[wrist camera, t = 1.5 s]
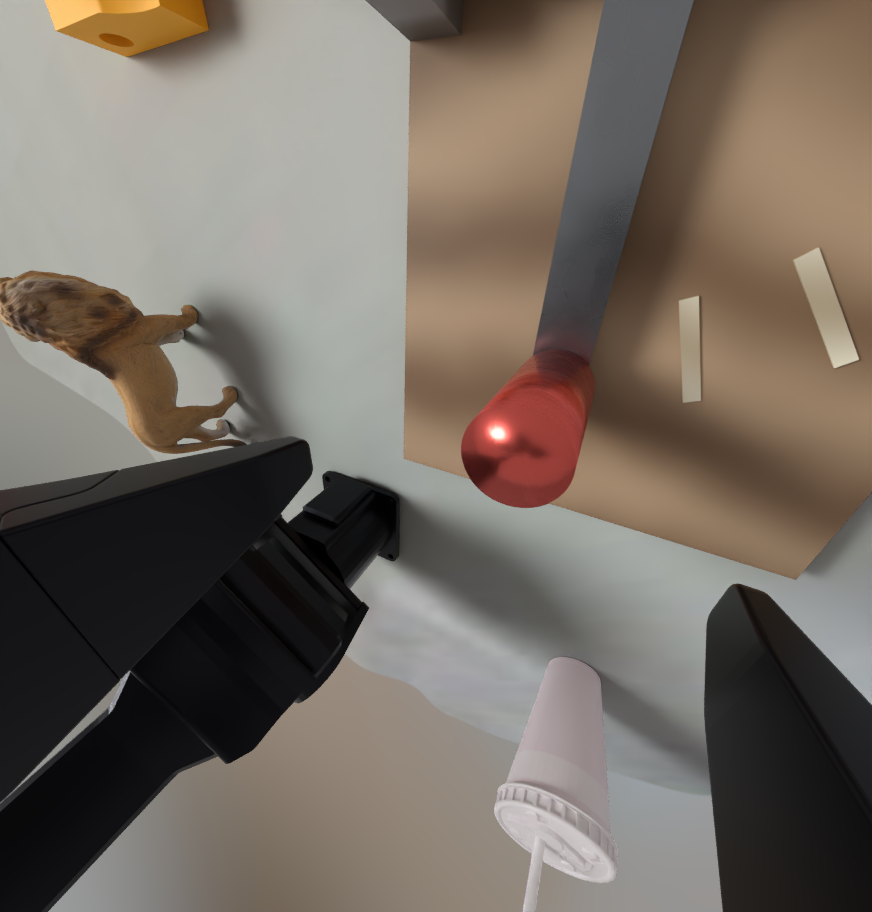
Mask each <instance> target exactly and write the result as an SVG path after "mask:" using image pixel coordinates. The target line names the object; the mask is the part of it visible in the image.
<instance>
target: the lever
mask: <svg viewBox="0 0 872 912" xmlns="http://www.w3.org/2000/svg"><path fill="white" fill-rule="evenodd" d="M694 1H695V0H604V4H603V9H602V14H601V18H600V23H599V28H598V33H597V38H596V43H595V48H594V53H593V58H592V63H591V68H590V73H589V78H588V83H587V88H586V93H585V98H584V103H583V108H582V113H581V118H580V123H579V128H578V133H577V138H576V143H575V148H574V153H573V158H572V163H571V168H570V173H569V178H568V183H567V188H566V193H565V198H564V203H563V208H562V212H561V217H560V222H559V227H558V232H557V237H556V242H555V247H554V252H553V257H552V262H551V267H550V272H549V277H548V282H547V287H546V292H545V297H544V302H543V307H542V312H541V317H540V322H539V327H538V332H537V337H536V342H535V347H534V352H533V356H532V357H530V358H529V359H528V360H527V361H526V362H525V363H524V364H523V365H522V366H521V367H520V368H519V369H518V371H517V372H516V373H515V374H514V375H513V376H512V377H511V378H510V379H509V381H508V382H507V383H506V384H505V385H504V386H503V387H502V388H501V389H500V391H499V392H498V393H497V394H496V395H495V396H494V397H493V398H492V399H491V400H490V402H489V403H488V404H487V405H486V406H485V407H484V408H483V409H482V410H481V412H480V413H479V414H478V415H477V416H476V417H475V418H474V419H473V420H472V422H471V423H470V424H469V425H468V427H467V429H466V431H465V432H464V435H463V438H462V443H461V457H462V462H463V465H464V468H465V470H466V472H467V474H468V476H469V477H470V479H471V480H472V482H473V483H474V484H475V485H476V486H477V487H478V488H479V489H480V490H481V491H482V492H483V493H484V494H486V495H487V496H489V497H490V498H492V499H494V500H496V501H498V502H500V503H503V504H505V505H509V506H513V507H519V508H532V507H538V506H542V505H546V504H548V503H550V502H552V501H554V500H556V499H557V498H559V497H560V496H561V495H562V494H563V493H564V492H565V491H566V490H567V489H568V487H569V486H570V484H571V482H572V480H573V477H574V474H575V470H576V466H577V462H578V458H579V454H580V450H581V446H582V442H583V438H584V434H585V430H586V426H587V422H588V418H589V414H590V410H591V405H592V401H593V397H594V393H595V379H594V375H593V373H592V370H591V369H590V367H589V366H590V362H591V359H592V355H593V352H594V348H595V345H596V341H597V338H598V334H599V331H600V327H601V324H602V320H603V317H604V313H605V310H606V306H607V303H608V300H609V296H610V293H611V289H612V286H613V282H614V279H615V275H616V272H617V268H618V265H619V261H620V258H621V254H622V251H623V247H624V244H625V240H626V237H627V233H628V230H629V227H630V223H631V220H632V216H633V213H634V209H635V206H636V202H637V199H638V195H639V192H640V188H641V185H642V181H643V178H644V174H645V171H646V167H647V164H648V160H649V157H650V154H651V150H652V147H653V143H654V140H655V136H656V133H657V129H658V126H659V122H660V119H661V115H662V112H663V108H664V105H665V101H666V98H667V94H668V91H669V87H670V84H671V81H672V77H673V74H674V70H675V67H676V63H677V60H678V56H679V53H680V49H681V46H682V42H683V39H684V35H685V32H686V28H687V25H688V21H689V18H690V14H691V11H692V8H693V4H694Z"/></svg>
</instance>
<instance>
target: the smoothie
mask: <svg viewBox="0 0 872 912" xmlns="http://www.w3.org/2000/svg"><path fill="white" fill-rule="evenodd" d="M494 813H495V816H496V818H497V820H498V822H499V824H500V825H501V826H502V828H503V829H504V830H505V831H506V832H507V834H508V835H509V836H510V837H511V838H513V839H514V840H515V841H516V842H517V843H518V844H519V845H521V846H522V847H523V848H524V849H525V850H527V851H528V852H530V853H531V854H532V857H531V864H530V869H529V875H528V882H527V888H526V894H525V900H524V906H523V912H535V911H536V904H537V897H538V890H539V883H540V876H541V869H542V862H545V863H547V864H549V865H550V866H552V867H554V868H556V869H558V870H560V871H562V872H564V873H566V874H569V875H571V876H574V877H576V878H580V879H583V880H586V881H590V882H596V883H607V882H611V881H612V880H613V879H615V877H616V872H617V871H616V869H617V857H618V846H617V845H616V843H615V841H614V839H613V837H612V836H611V832H610V816H609V815H610V814H609V799H608V785H607V769H606V754H605V739H604V724H603V709H602V694H601V681H600V678H599V676H598V674H597V673H596V672H595V671H594V670H593V669H592V668H591V667H590V666H588V665H587V664H585V663H583V662H581V661H579V660H576V659H573V658H569V657H557V658H553V659H552V660H550V661H549V663H548V666H547V669H546V671H545V674H544V677H543V680H542V683H541V686H540V688H539V691H538V694H537V697H536V700H535V703H534V705H533V708H532V711H531V714H530V717H529V719H528V722H527V725H526V728H525V731H524V734H523V736H522V739H521V742H520V745H519V748H518V751H517V754H516V756H515V758H514V762H513V764H512V767H511V770H510V773H509V776H508V779H507V782H506V783H504V784H503V785H501V786H500V787H499V788H498V792H497V799H496V803H495V807H494Z"/></svg>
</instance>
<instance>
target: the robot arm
mask: <svg viewBox="0 0 872 912" xmlns="http://www.w3.org/2000/svg"><path fill="white" fill-rule="evenodd" d="M312 471H313V465H312V459H311V453H310V447H309V444H308V443H307V441H305V440H303V439H300V438H297V437H292V436H291V437H285V438H280V439H275V440H270V441H264V442H259V443H254V444H249V445H244V446H239V447H234V448H228V449H223V450H218V451H213V452H208V453H203V454H197V455H192V456H187V457H182V458H177V459H172V460H166V461H161V462H156V463H151V464H146V465H141V466H136V467H130V468H126V469H122V470H120V471H119V470H115V471H109V472H105V473H99V474H94V475H88V476H83V477H78V478H72V479H67V480H61V481H55V482H49V483H43V484H37V485H31V486H24V487H18V488H11V489H5V490H0V802H1V803H0V912H48V911H49V910H50V909H51V908H52V906H54V904H56V903H57V901H58V900H59V899H60V898H61V897H62V896H63V895H64V894H65V893H66V892H67V891H68V890H69V889H70V888H71V886H72V885H73V884H74V883H75V882H76V881H77V880H78V879H79V878H80V877H81V876H82V875H83V874H84V873H85V872H86V871H87V869H88V868H89V867H90V866H91V865H92V864H93V863H94V862H95V861H96V860H97V859H98V858H99V857H100V855H102V853H103V852H104V851H105V850H106V849H107V848H108V847H109V846H110V845H111V844H112V843H113V842H114V840H116V839H117V837H118V836H119V835H120V834H121V833H122V832H123V831H124V830H125V829H126V828H127V827H128V826H129V825H130V823H132V821H133V820H134V819H135V818H136V817H137V816H138V815H139V814H140V813H141V812H142V811H143V810H144V809H145V808H146V806H147V805H148V804H149V803H150V802H151V801H152V800H153V799H154V798H155V797H156V796H157V795H158V794H159V793H160V792H161V790H162V789H163V788H164V787H165V786H166V785H167V784H168V783H169V782H170V781H171V780H172V779H173V778H174V777H175V776H176V775H177V774H178V773H180V772H181V771H184V770H186V769H189V768H191V767H193V766H196V765H198V764H201V763H203V762H206V761H208V760H210V759H213V758H215V757H217V756H218V757H219V758H220V759H221V760H222V761H223V762H224V763H225V764H228V763H231V762H233V761H235V760H236V759H238V758H240V757H242V756H243V755H245V754H247V753H249V752H250V751H252V750H253V749H254V748H255V747H256V746H257V745H258V744H259V742H260V741H261V740H262V738H263V737H264V736H265V735H266V734H267V732H268V731H269V730H270V728H271V727H272V726H273V725H274V724H275V723H276V721H277V720H278V719H279V718H280V716H281V715H282V714H283V713H284V712H285V711H286V710H287V709H288V708H289V707H290V706H291V705H292V704H293V703H294V702H295V703H300V702H303V701H304V700H306V699H307V698H309V697H310V696H311V695H312V694H313V693H314V692H315V691H317V690H318V688H320V687H321V685H322V684H323V683H324V682H325V681H326V680H327V679H328V677H329V676H330V675H331V674H332V673H333V671H334V670H335V668H336V667H337V665H338V664H339V663H340V661H341V659H342V658H343V656H344V654H345V652H346V650H347V648H348V646H349V645H350V643H351V641H352V639H353V637H354V635H355V633H356V632H357V630H358V628H359V626H360V624H361V622H362V620H363V619H364V617H365V615H366V613H367V611H368V609H369V607H368V606H367V605H366V604H365V603H364V602H361V601H360V600H359V599H358V597H357V596H356V595H355V594H354V593H353V592H352V591H351V590H350V588H351V587H352V586H353V585H354V583H355V582H356V581H357V580H358V578H359V577H360V576H361V575H362V574H363V572H364V571H365V570H366V569H367V567H368V566H369V565H370V564H371V563H372V561H373V560H374V559H375V558H376V556H377V555H378V556H381V557H383V558H385V559H388V560H390V561H395V560H396V559H397V558H398V556H399V498H398V496H397V495H396V494H394V493H391V492H389V491H386V490H383V489H380V488H377V487H374V486H371V485H368V484H366V483H363V482H360V481H357V480H354V479H351V478H348V477H346V476H343V475H340V474H337V473H334V472H331V471H327V472H326V473H324V474H323V477H322V478H323V486H324V490H323V491H322V492H321V493H320V494H318V495H317V496H316V497H315V498H313V499H312V500H311V501H310V502H308V503H307V504H306V505H305V506H304V507H303V511H302V512H300V513H299V514H298V515H297V516H296V517H294V518H293V519H292V520H291V521H289V522H288V523H287V522H286V521H285V520H284V519H283V518H282V515H281V513H282V511H283V510H284V509H285V508H286V506H287V505H288V504H289V503H290V501H291V500H292V499H293V498H294V497H295V495H296V494H297V493H298V492H299V490H300V489H301V488H302V487H303V485H304V484H305V483H306V482H307V480H308V479H309V478H310V476H311V474H312ZM122 677H123V679H122V681H121V683H120V686H119V688H118V690H117V692H116V695H115V697H114V699H113V701H112V703H111V705H110V706H109V708H107V709H106V710H105V711H104V712H103V713H102V714H101V715H99V716H98V717H97V718H96V719H95V720H94V721H93V722H91V723H90V724H89V725H88V726H87V727H86V728H85V729H84V730H82V731H81V732H80V733H79V734H78V735H77V736H76V737H74V738H73V739H72V740H71V741H70V742H69V743H68V744H67V745H66V746H64V747H63V748H62V749H61V750H60V751H59V752H57V754H55V755H54V756H53V757H52V758H51V759H50V760H49V761H47V762H46V763H45V764H44V765H43V766H42V767H41V768H39V769H38V770H37V771H36V772H35V773H34V774H33V775H31V776H30V777H29V778H28V779H27V780H26V781H25V782H24V783H23V784H21V785H20V786H19V787H18V788H17V789H16V790H15V791H13V790H14V789H15V788H16V787H17V786H18V785H19V784H20V783H21V782H22V781H23V780H24V779H25V778H26V777H27V776H28V775H29V774H30V773H31V772H32V771H33V770H34V769H35V768H36V767H37V766H38V765H39V764H40V763H41V762H42V760H43V759H44V758H46V756H47V755H48V754H49V753H50V752H51V751H52V750H53V749H54V748H55V747H56V746H57V745H58V744H59V743H60V742H61V741H62V740H63V739H64V738H65V737H66V736H67V735H68V734H69V733H70V732H71V731H72V730H73V729H74V728H75V727H76V726H77V725H78V724H79V722H80V721H81V720H82V719H83V718H84V717H85V716H86V715H87V714H88V713H89V712H90V711H91V710H92V709H93V708H94V707H95V706H96V705H97V704H98V703H99V702H100V701H101V700H102V699H103V698H104V697H105V696H106V695H107V694H108V692H109V691H111V689H112V688H113V687H114V686H115V685H116V684H117V683H118V682H119V681H120V679H121V678H122ZM704 717H705V732H706V742H707V753H708V763H709V773H710V784H711V794H712V804H713V815H714V825H715V836H716V846H717V856H718V866H719V877H720V887H721V897H722V908H723V912H872V705H871V704H870V703H869V702H868V700H867V699H866V698H865V697H864V696H863V695H862V694H861V693H860V692H859V691H858V690H857V689H856V688H855V687H854V686H853V684H852V683H851V682H850V681H849V680H848V679H847V678H846V677H845V676H844V675H843V674H842V673H841V672H840V671H839V670H838V669H837V667H836V666H835V665H834V664H833V663H832V662H831V661H830V660H829V659H828V658H827V657H826V656H825V655H824V654H823V653H822V651H821V650H820V649H819V648H818V647H817V646H816V645H815V644H814V643H813V642H812V641H811V640H810V639H809V638H808V637H807V635H806V634H805V633H804V632H803V631H802V630H801V629H800V628H799V627H798V626H797V625H796V624H795V623H794V622H793V621H792V619H791V618H790V617H789V616H788V615H787V614H786V613H785V612H784V611H783V610H782V609H781V608H780V607H779V606H778V605H777V603H776V602H775V601H774V600H773V599H772V598H771V597H770V596H769V595H768V594H766V593H765V592H762V591H760V590H757V589H754V588H751V587H748V586H745V585H742V584H733V585H731V586H730V587H729V588H728V589H727V591H726V592H725V593H724V595H723V596H722V597H721V599H720V600H719V601H718V603H717V604H716V605H715V607H714V608H713V609H712V611H711V612H710V614H709V617H708V620H707V629H706V661H705V694H704ZM12 791H13V792H12ZM11 792H12V793H11ZM10 793H11V794H10ZM9 794H10V795H9ZM8 795H9V796H8ZM7 796H8V797H7ZM6 797H7V798H6Z"/></svg>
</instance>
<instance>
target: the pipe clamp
mask: <svg viewBox="0 0 872 912" xmlns="http://www.w3.org/2000/svg"><path fill="white" fill-rule="evenodd" d="M45 2H46V5H47V7H48V10H49V13H50V16H51V18H52V21H53V24H54V27H55V29H56V31H58V32H61V33H63V34H66V35H69V36H72V37H74V38H77V39H80V40H82V41H85V42H88V43H90V44H93V45H96V46H98V47H101V48H104V49H107V50H109V51H112V52H115V53H117V54H120V55H123V56H125V57H129V56H132V55H135V54H138V53H141V52H144V51H147V50H150V49H153V48H156V47H160V46H163V45H166V44H169V43H172V42H175V41H178V40H181V39H184V38H187V37H190V36H193V35H196V34H199V33H202V32H205V31H208V30H209V28H208V24H207V19H206V14H205V10H204V5H203V1H202V0H45Z"/></svg>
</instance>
